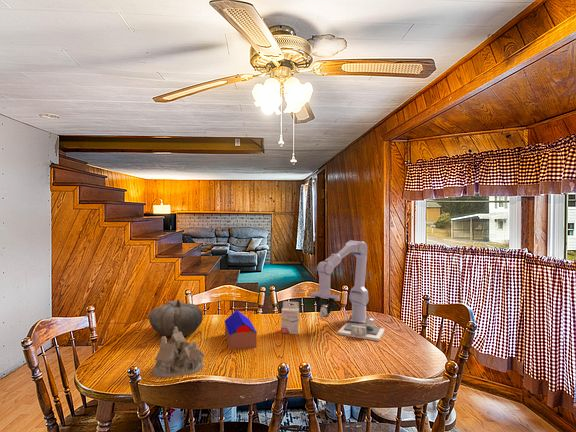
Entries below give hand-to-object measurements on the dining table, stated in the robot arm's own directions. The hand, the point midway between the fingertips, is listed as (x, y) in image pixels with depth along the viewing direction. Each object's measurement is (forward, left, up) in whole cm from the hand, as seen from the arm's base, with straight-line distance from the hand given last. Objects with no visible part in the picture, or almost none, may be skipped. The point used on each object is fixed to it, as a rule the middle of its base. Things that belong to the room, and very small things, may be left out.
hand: (324, 312), depth 177 cm
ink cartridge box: (+11, -14, -9) cm, 20 cm away
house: (+32, -30, -9) cm, 44 cm away
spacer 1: (0, 0, -2) cm, 2 cm away
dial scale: (-4, +18, -9) cm, 21 cm away
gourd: (+37, -63, -9) cm, 74 cm away
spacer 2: (-6, +22, -7) cm, 24 cm away
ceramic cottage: (+66, -35, -9) cm, 75 cm away
